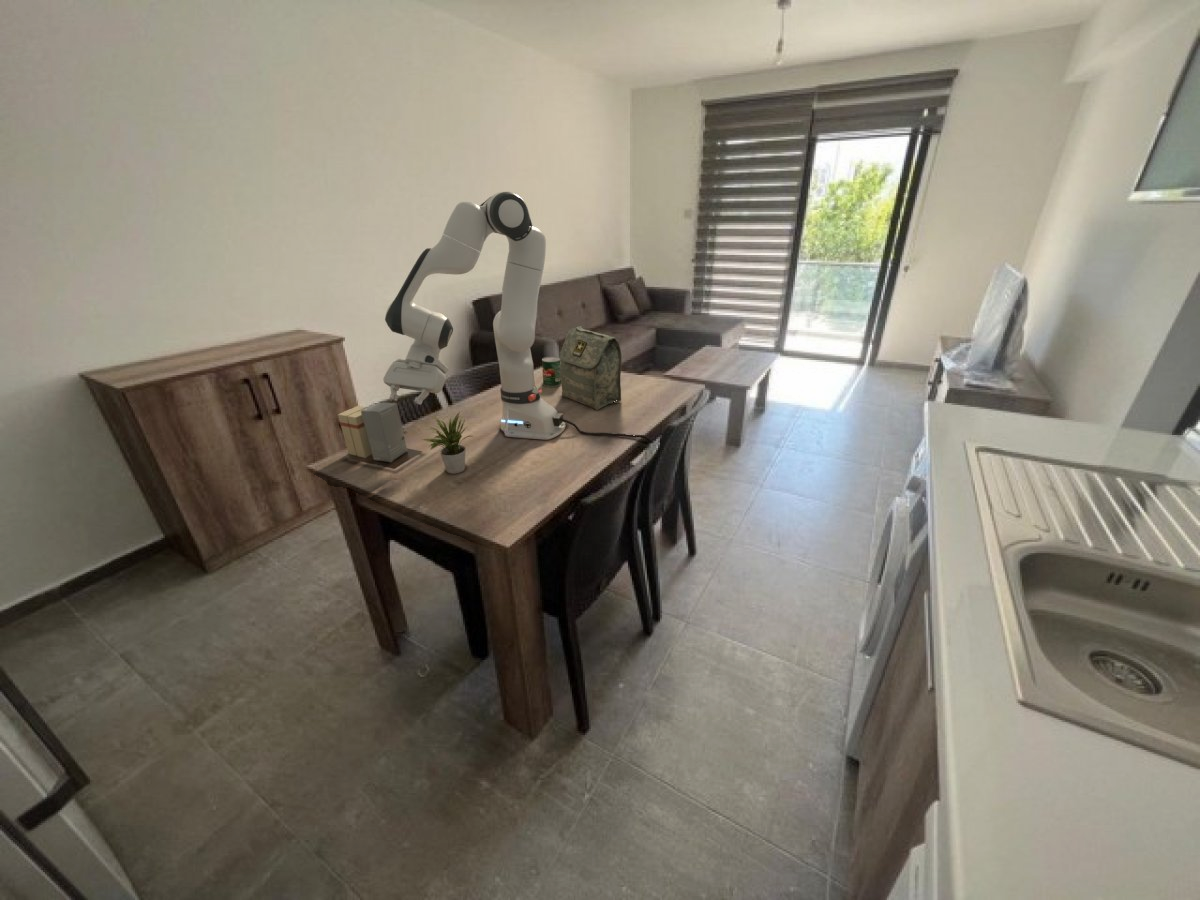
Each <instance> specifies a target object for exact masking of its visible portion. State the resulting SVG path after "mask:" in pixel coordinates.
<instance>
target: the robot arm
mask: <svg viewBox="0 0 1200 900" xmlns="http://www.w3.org/2000/svg"><path fill="white" fill-rule="evenodd" d="M493 233H494V234H499V235H502V236H505V237H506V239H507V241H508V253H507V258H506V264H505V270H504V276H503V281H502V289H501V305H500V306H501V307H500V310H499V311H498V312H496V314H495V316H494V318H493V322H492V327H493V334H494V335H493V336H494V343H495V348H496V355H497V361H498V367H499V376H500V386H501V387H500V400H501V402H502V415H501V416H502V417H501V419H500V422H501V423H500V430H501V431H502V432H503V433H504V436H505V437H508V438H517V439H518V438H519V439H532V440H544V441H545V440H546V441H548V440H551V439H554V438H556V437H558V436H559V435H560V434H562V433H563V432H564V430H565V429H566V426H567V425H566V424H569V425H570V426H572V427H573V428H574V429H575V430H576V431H577V432H578V433H579V434H582V435H587V436H608V437H626V438H641V439H645V440H648V442H649V443H654V441H653V439H652V438H651V437H649V436H647V435H645V434H631V435H626V434H627V433H617V434H612V433H613V432H588V431H583V430H581V429H580V428H579V427H578V426H577V424H576V423H574V422H572V421H570V420H568V419H565V418H564V413H563V412H558V411H557V410H556V408H554V406H552V405H550V404H549V403H548V402H546V400H544V399H543V398H542V397H541V395H540V394H542V393H543V389H542V388H541V389H539V390H538V388H537V386H536V385H535V384H536V383H535V372H534V371H535V369H534V361H533V357H532V356H533V355H532V351H531V348H532V347H533V344H534V343H535V340H536V326H537V325H536V324H537V318H538V317H537V315H538V300H539V293H540V290H541V289H540V288H541V284H542V277H543V272H544V267H545V261H546V253H547V252H546V251H547V250H546V249H547V242H546V241H547V239H546V236H545V234H544V232H542V230H540V229H539V228H537V227H535V226H533V223H532V220H531V216H530V211H529V209H528V205H527V204H526V202H525V200H524V198H522V197H521V196H520V195H518V194H517V193H515V192H512V191H499V192H496V193H494V194H492V195H491V196H490V197H488V198H487V199H486V200H485V201H483V202H482V203H481V204H480V205H479V204H477V203H475V202H472V201H461V202H459V203H457V204H456V206H455V207H454V209H453V211H452V212H451V214H450V216H449V218H448V220H447V223H446V224H445V227H444V229H443V233H442V235H441V236H440V237H441V238H440V239H439V241H438V242H437V243H436V245H434V246H433V247H428V248H425V249H424V250H423V251H422V253H420V255H419V256H418V258H417V260H416V262H415V263H414V264H413V266H412V268H411V270H410V272H409V273H408V275H407V277H406V278H405V280H404V282H403V284H402V285H401V288H400V289H399V291H398V293H397V294H396V297H395V298H394V299H393V300H392V302H391V303H390V304H389V306H388V307H387V309H386V312H385V317H384V321H385V324H386V325H387V327H388V328H389V329H390V331H391V332H392V333H395V334H398V335H402V336H405V337H408V338H411V339H413V343H412V344H411V345H410V347H409V350H408V352H407V354H406V356H405V358H404V359H401V358H398V359H397V360H395V361H392V363H391V365H390V366H389V367H388V369H387V371H386V372H385V374H384V376H383V379H382V380H383V383H384V384H385V385H387V386H388V387H389V388H390V389H389V390H390V396H389V400H391V401H394V402H397V401H398V399H399V397H400V396H399V395H398V392H399V390H400V389H402V390H403V389H404V390H410V391H417V392H420V394H419V395H418V396H415V397H414V400H413V403H414V404H415V405H420V406H421V405H422V404H423V401H424V400H425V399H426V398H427V397H429V396H430V393H432V394H439V393H440V392H442V390H443V388H444V385H445V383H446V379H447V375H446V374H448V372H449V367H448V366H447V365H446V364H445V363H444V362H443V361H441V360H440V359H439V358H440V352H441V351H442V350H444V349H445V348H447V347H448V344H449V341H450V339H451V337H452V335H453V332H454V327H453V324H452V322H451V320H450V319H449V318H448V317H446V315H444V314H443V313H441V312H438V311H433V310H431V309H428V308H426V307H424V306H421V305H419V304H417V303H415V302H414V298H415V296H416V294H417V293H418V291H419V289H420V287H421V286H422V285H423V284H422V283H423V282H424V281H425V279H426V278H427V277H428V276H430V275H434V274H436V275H437V274H440V275H441V274H443V275H463V274H464V275H465V274H467V273H469V272H472V270H473V269H474V268H475V266H476V264H477V262H478V261H479V258H480V256H481V252H482V250H483V247H484V244H485V241H486V240H487V238H489V236H490V235H491V234H493ZM633 435H635V436H633ZM652 523H654V524H655V523H656V517H654V518H653V520H652Z"/></svg>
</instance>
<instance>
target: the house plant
mask: <svg viewBox="0 0 1200 900" xmlns="http://www.w3.org/2000/svg"><path fill="white" fill-rule="evenodd" d="M460 414H461V411H459V412H457V414H456V415H455V416H454V418H453V420H452V418H450V419H449V421H448V428H447V425H446V423H445V421H443V420H441V419H438V418H436V417H434V416H432V419H434V420H435V421H436V423H437V425H438V426H439V427H440V429H441V431H442V432H443V433H442V432H441V431H440V430H438V429H437V428H434V427H431V426H423V429H424V428H425V429H429V430H430V431H432V432H435V434H437V435H436V436H435V437H434V438H424V439H422V441H425V442H426V443H431V444H430V445H429V446H428V448H430V451H431V450H433V449H434V448H437V447H440V450H439V454H440V456H441V459H442V462H443V465H444V468H445V470H446V472H447V473H448V474H454V475H455V474H460V473H462V472H464V471H465V469H466V447H465V446H464V445H462V444H461V443H462V441H464V440H465V439H466V438H469V437H473V438H474V436H473V435H467V436H465V437H464V438H462V436H463V435H462V434H463V433H464V432H465V430H466V429H467V428H468V427H469V426H468V425H467V426H466V427H464V424H465V420H466V419H464V420H463V417H462V416H461V418H460V417H459V416H460ZM459 418H460V419H459ZM458 420H459V422H458ZM462 420H463V422H462ZM461 423H462V424H461ZM457 424H458V425H457ZM463 427H464V428H463ZM461 439H462V440H461Z"/></svg>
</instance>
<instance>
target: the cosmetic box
mask: <svg viewBox="0 0 1200 900" xmlns="http://www.w3.org/2000/svg"><path fill="white" fill-rule="evenodd" d="M367 407H368V408H367ZM367 407H366V409H364V410H361V413H362V417H363V421H364V425H365V428H366V432H367V436H368V440H369V444H370V448H371V452H372V456H373V459H374V460H379V461H387V462H393V461H394V460H395V459H397V458H398V457H399V456H401V455H402V454H404V453H405V452H407V448H408V447H407V442H406V438H405V433H404V428H403V424H402V420H401V416H400V415H401V414H400V412H399V407H398V403H397V402H384V401H383V402H382V401H380V402H377V403H375V404H372V405H369V406H367ZM402 428H403V429H402Z"/></svg>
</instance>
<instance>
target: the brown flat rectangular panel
mask: <svg viewBox="0 0 1200 900" xmlns="http://www.w3.org/2000/svg"><path fill="white" fill-rule="evenodd" d="M421 453H423V451H422V450H418V449H414V448H409V447H407V452H405V453H404V454H402V455H401V456H399V457H398V458H397V459H395V460H394V461H393V462H387V461H379V460H374V459H373V456H372V454H371V455H370V456H368V457H366V458H364V457H360V456H355V455H351V454H348V453H347V454H346V455H344V456H342V458H344V459H348V460H353V461H357V462H361V463H366V464H370V465H375V466H380V467H384V468H388V469H392V470H395V469H397V468H399V467H400V466H402V465H403V464H405V463H407V462H409V461H410V460H412V459H413V458H415V457H417V456H418V455H420V454H421Z"/></svg>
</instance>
